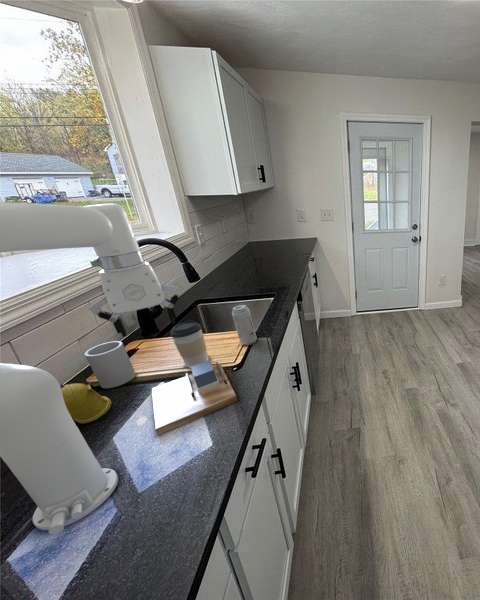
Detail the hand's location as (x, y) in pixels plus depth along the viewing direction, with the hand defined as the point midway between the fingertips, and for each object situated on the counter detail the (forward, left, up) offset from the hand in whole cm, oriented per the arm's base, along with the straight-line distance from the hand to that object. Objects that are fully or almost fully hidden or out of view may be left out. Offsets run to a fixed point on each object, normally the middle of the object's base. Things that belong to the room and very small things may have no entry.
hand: (149, 327), depth 77 cm
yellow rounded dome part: (+14, +20, -26) cm, 36 cm away
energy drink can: (+29, -25, -26) cm, 47 cm away
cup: (+34, +15, -26) cm, 46 cm away
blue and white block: (+9, -7, -24) cm, 27 cm away
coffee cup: (+27, -7, -26) cm, 38 cm away
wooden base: (+5, -3, -26) cm, 27 cm away
